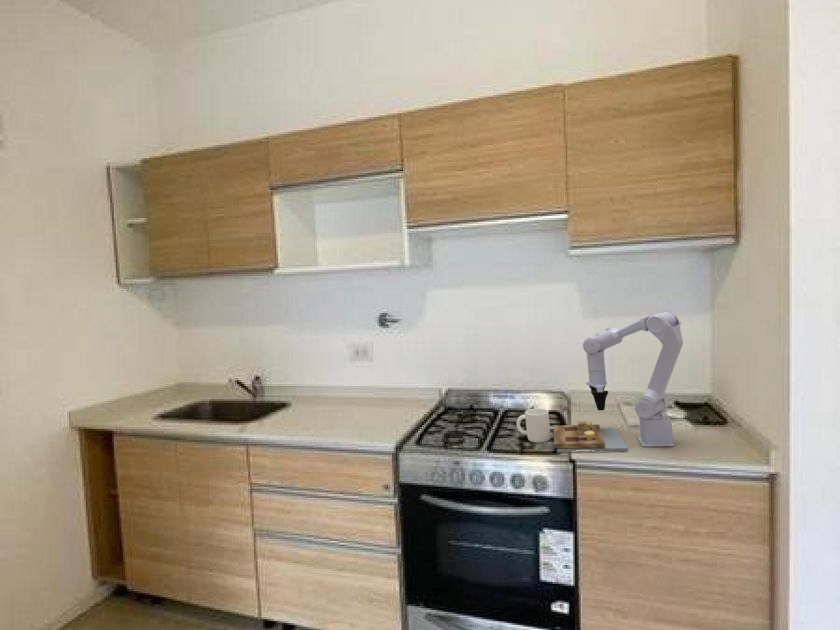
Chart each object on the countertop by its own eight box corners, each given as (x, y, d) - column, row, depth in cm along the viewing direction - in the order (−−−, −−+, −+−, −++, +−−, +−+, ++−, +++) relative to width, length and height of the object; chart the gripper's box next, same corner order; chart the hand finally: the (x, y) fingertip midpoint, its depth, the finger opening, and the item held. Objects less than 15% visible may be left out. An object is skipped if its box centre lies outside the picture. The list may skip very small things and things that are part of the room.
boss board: (619, 431, 173) (618, 417, 173) (627, 451, 154) (626, 436, 153) (556, 433, 179) (555, 419, 178) (557, 452, 160) (555, 437, 159)
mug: (515, 442, 174) (512, 414, 174) (520, 434, 182) (518, 408, 181) (548, 443, 169) (545, 415, 168) (552, 435, 176) (550, 408, 176)
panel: (599, 428, 175) (597, 413, 174) (605, 447, 155) (603, 431, 155) (554, 429, 179) (552, 415, 179) (554, 448, 160) (552, 432, 159)
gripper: (583, 366, 179) (586, 402, 180) (586, 374, 165) (589, 413, 166) (603, 365, 177) (606, 401, 178) (608, 373, 163) (611, 412, 164)
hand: (599, 407), depth 172 cm, fingers open, 7 cm apart
